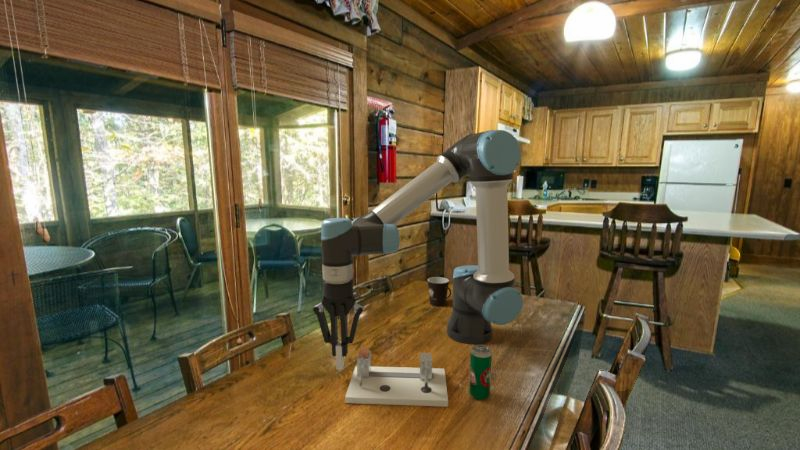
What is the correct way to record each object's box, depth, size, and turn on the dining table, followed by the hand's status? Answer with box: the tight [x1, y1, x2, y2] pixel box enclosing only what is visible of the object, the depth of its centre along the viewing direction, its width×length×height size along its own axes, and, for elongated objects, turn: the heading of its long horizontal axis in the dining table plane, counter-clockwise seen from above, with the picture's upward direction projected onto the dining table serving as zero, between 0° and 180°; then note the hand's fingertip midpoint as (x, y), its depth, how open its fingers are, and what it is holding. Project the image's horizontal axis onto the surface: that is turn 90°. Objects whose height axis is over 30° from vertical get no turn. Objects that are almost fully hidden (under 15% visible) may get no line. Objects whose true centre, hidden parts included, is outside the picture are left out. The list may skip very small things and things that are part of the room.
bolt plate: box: [344, 365, 449, 408], centre depth 93 cm, size 24×14×2 cm, turn 87°
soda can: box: [468, 344, 493, 401], centre depth 89 cm, size 5×5×12 cm
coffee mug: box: [427, 276, 452, 308], centre depth 149 cm, size 12×9×10 cm
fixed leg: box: [419, 352, 433, 389], centre depth 93 cm, size 3×8×6 cm, turn 177°
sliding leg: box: [356, 348, 372, 386], centre depth 94 cm, size 3×8×6 cm, turn 177°
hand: (340, 367), depth 97 cm, fingers closed
